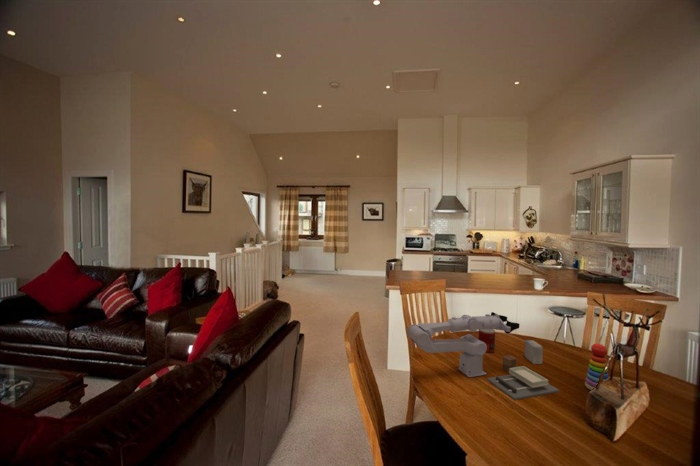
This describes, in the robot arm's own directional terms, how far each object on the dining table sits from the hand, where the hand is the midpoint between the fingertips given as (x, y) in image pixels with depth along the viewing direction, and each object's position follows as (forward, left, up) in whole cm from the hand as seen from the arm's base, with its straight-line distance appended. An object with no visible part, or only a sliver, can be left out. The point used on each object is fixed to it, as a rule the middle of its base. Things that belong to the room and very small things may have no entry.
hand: (512, 322), depth 141 cm
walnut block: (-3, -2, -22) cm, 22 cm away
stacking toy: (+20, -24, -22) cm, 38 cm away
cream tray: (-5, -14, -20) cm, 25 cm away
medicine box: (+16, +3, -22) cm, 27 cm away
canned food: (+2, +19, -22) cm, 29 cm away
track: (-8, -14, -21) cm, 27 cm away
